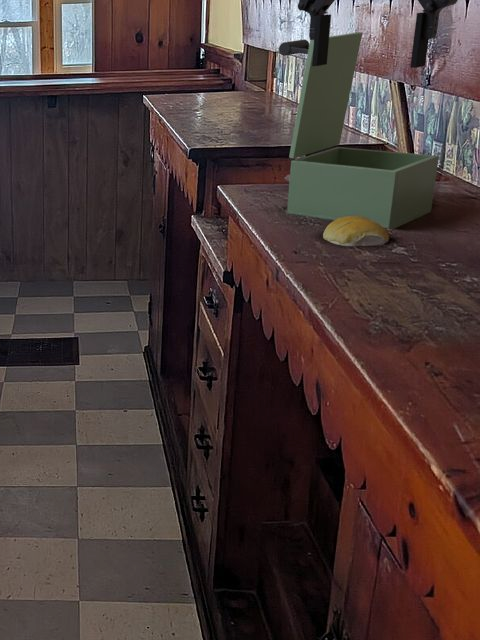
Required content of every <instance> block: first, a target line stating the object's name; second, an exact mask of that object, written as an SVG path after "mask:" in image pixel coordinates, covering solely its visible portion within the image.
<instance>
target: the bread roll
mask: <svg viewBox="0 0 480 640" xmlns="http://www.w3.org/2000/svg"><path fill="white" fill-rule="evenodd" d="M322 237H323V240H325V241H327V242H329V243H332V244H333V245H338V246H343V247H366V246H367V247H368V246H370V247H371V246H382V245H383V246H384V245H385V244H387V243H388V242H389V240H390V236H389V233H388V231H387V230H386V228H383V227H382V226H381V225H379V224H378V223H376V222H374V221H370V220H369V219H367V218H364V217H359V216H346V217H342V218H339V219H337V220H332V221H331V222H330V223H329V224H328V225H327V226H326V227H325V229H324V231H323V234H322Z"/></svg>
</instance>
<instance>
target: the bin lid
mask: <svg viewBox="0 0 480 640" xmlns="http://www.w3.org/2000/svg"><path fill="white" fill-rule="evenodd" d="M362 37H363V32H359V31H357V32H351V33H345V34H338V35H337V34H336V35H329V46H328V57H327V64H326V65H320V66H312V60H313V48H314V40H310V39H309V41H308V40H307V39H297V40H291V41H285V42H282V43H280V44H279V46H278V53H279V54H280V55H281V56H284V57H285V56H290V55H297V54H300V55H306V62H305V67H304V73H303V77H302V78H303V79H302V83H301V89H300V94H299V100H298V106H297V110H296V116H295V123H294V129H293V134H292V138H291V139H292V140H291V146H290V150H289V156H288V158H289V159H296V158H297V157H300V156H303V155H305V156H306V155H307V156H308V155H311V154H314V153H317V152H321V151H324V150H327V149H331V148H334V147H337V146H339V145H341V139H342V134H343V129H344V125H345V120H346V116H347V110H348V105H349V100H350V96H351V90H352V86H353V81H354V76H355V72H356V67H357V62H358V56H359V53H360V47H361V42H362Z"/></svg>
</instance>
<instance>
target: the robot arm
mask: <svg viewBox="0 0 480 640" xmlns="http://www.w3.org/2000/svg"><path fill="white" fill-rule="evenodd" d="M335 1H336V0H299V1H298V3H297V9H298V10H299V11H303V12H305V13H308V14H309V16H310V19H309V30H308V31H309V32H308V37H309V41H310V40H314V48H313V60H312V66H320V65H326V64H327V57H328V46H329V37H330V32H331V22H332V21H331V20H332V14H328V10H329V8H330V7H331V6H332V5H333V3H334V2H335ZM417 1H418V3H419V4H420V6H421V8H422V10H421V12H417V13H416V17H415V26H414V34H413V42H412V49H411V57H410V58H411V59H410V68H411V69H416V68H422V67H426V63H427V54H428V48H429V40H433V39H435V38H436V36H437V34H438V26H439V20H440V14H441V11H442V10H443V9H446V8H448V7H450V6H454V5H455V4H457V3H458V0H417Z"/></svg>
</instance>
